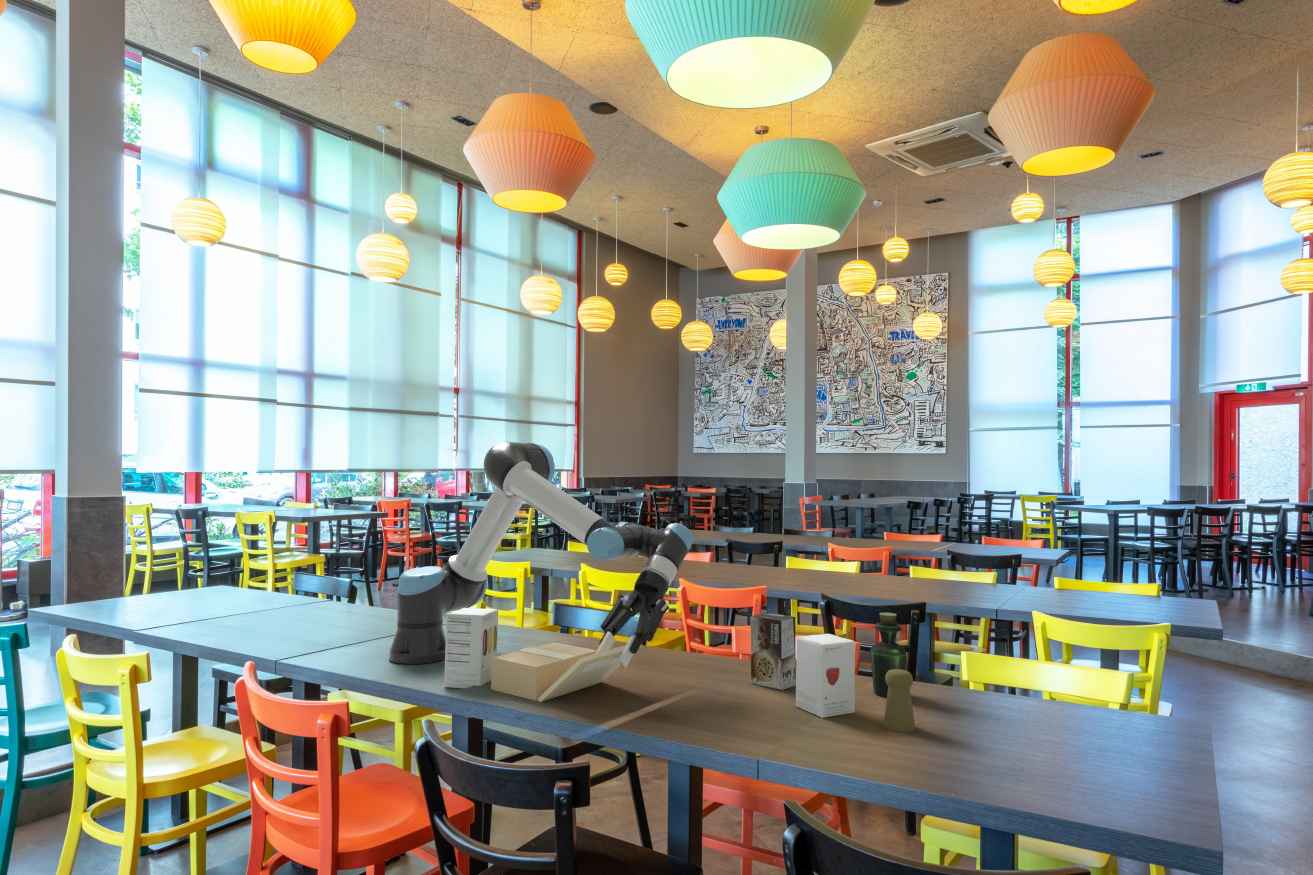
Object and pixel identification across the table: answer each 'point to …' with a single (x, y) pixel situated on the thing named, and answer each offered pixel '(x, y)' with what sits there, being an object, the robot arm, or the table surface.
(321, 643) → the table surface
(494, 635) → the supplement box
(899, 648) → the potion bottle
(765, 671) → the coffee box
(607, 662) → the carton flap
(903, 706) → the olive pawn
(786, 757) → the table surface
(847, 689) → the supplement box
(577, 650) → the carton
